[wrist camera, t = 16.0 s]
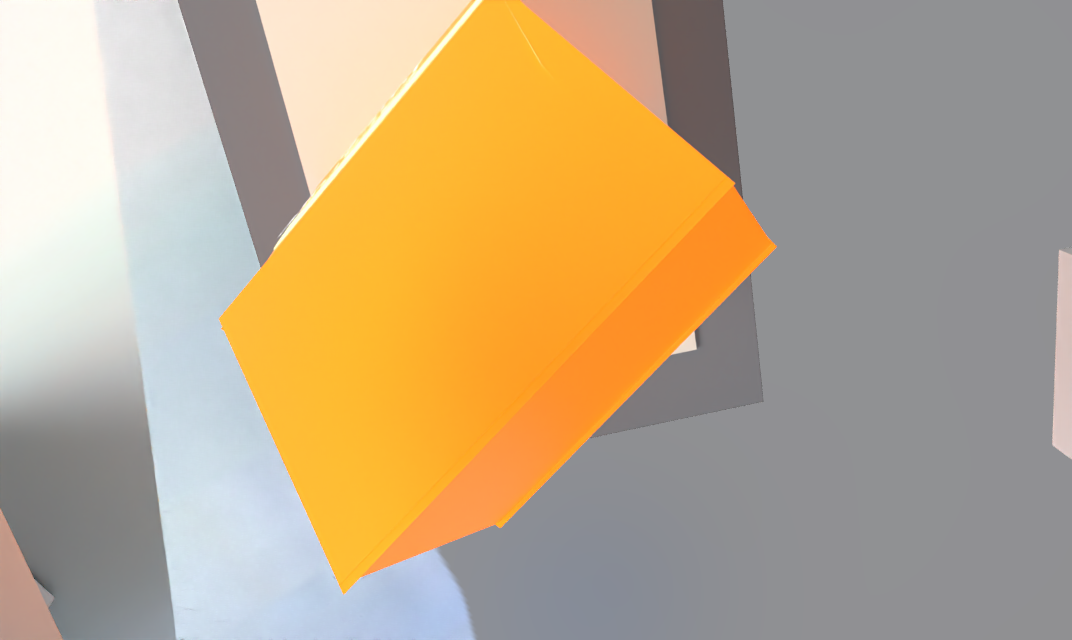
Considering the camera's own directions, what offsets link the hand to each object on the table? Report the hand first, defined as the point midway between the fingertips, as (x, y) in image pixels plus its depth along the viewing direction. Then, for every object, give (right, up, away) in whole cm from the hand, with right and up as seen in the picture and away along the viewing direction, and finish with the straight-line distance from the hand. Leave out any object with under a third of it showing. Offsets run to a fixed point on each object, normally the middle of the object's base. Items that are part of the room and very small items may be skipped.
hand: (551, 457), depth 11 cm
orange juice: (-2, +7, +21) cm, 22 cm away
